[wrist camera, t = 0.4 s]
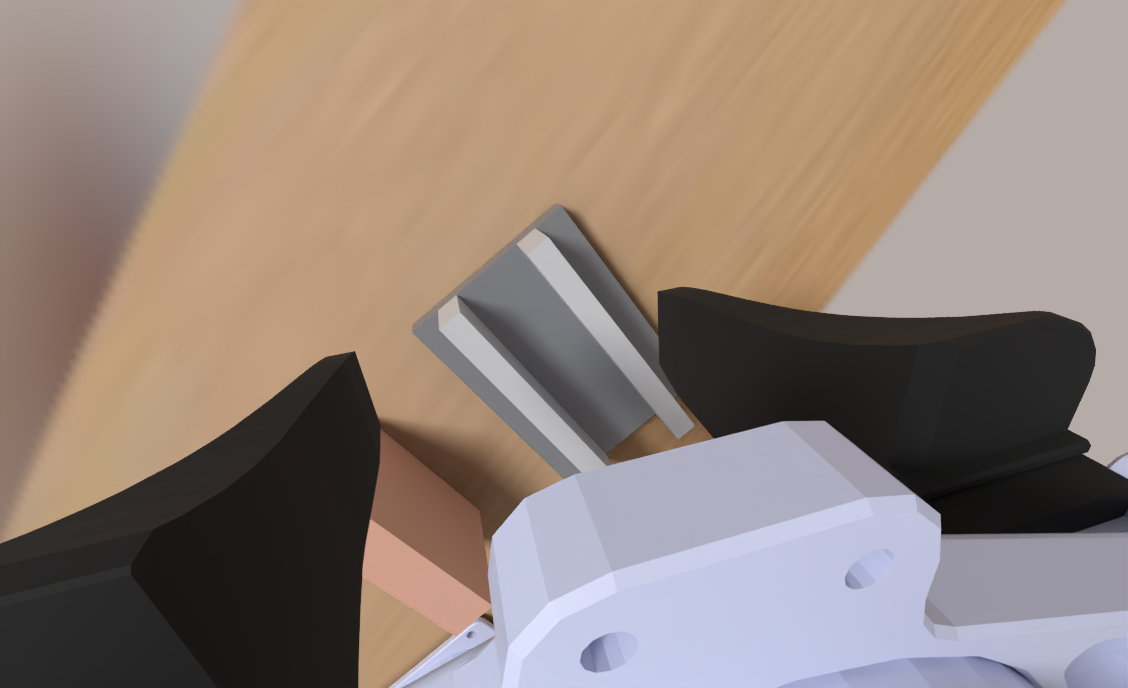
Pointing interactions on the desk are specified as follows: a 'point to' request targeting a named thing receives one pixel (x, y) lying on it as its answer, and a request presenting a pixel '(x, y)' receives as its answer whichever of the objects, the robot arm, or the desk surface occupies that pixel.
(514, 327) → the grey slotted holder
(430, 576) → the tall salmon pink block
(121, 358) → the desk surface
